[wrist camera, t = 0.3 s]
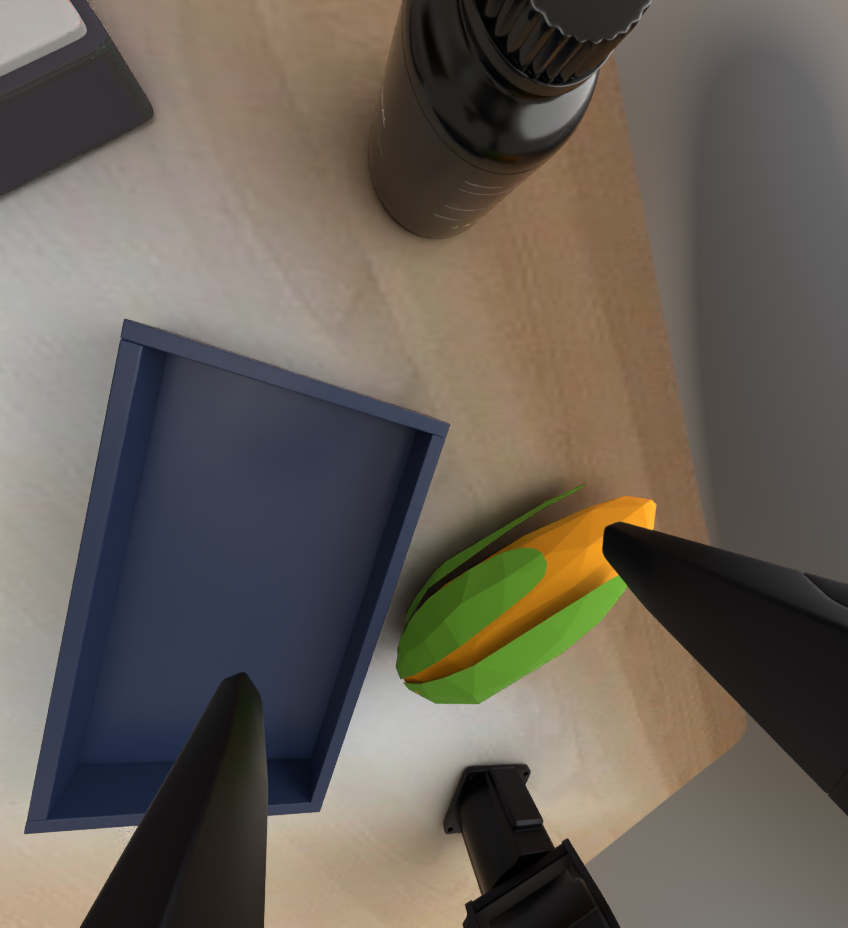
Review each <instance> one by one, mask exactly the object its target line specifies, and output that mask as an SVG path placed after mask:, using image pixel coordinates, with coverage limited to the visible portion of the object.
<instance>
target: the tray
mask: <svg viewBox="0 0 848 928" xmlns="http://www.w3.org/2000/svg"><path fill="white" fill-rule="evenodd" d="M121 338H122V339H121V340H120V344H119V349H118V354H117V359H116V364H115V369H114V375H113V380H112V385H111V390H110V395H109V400H108V405H107V411H106V416H105V421H104V426H103V431H102V436H101V441H100V447H99V452H98V457H97V462H96V467H95V472H94V477H93V483H92V488H91V493H90V498H89V503H88V508H87V513H86V519H85V524H84V529H83V534H82V539H81V544H80V549H79V555H78V560H77V565H76V570H75V575H74V580H73V585H72V591H71V596H70V601H69V606H68V611H67V616H66V622H65V627H64V632H63V637H62V642H61V647H60V652H59V658H58V663H57V668H56V673H55V678H54V683H53V688H52V694H51V699H50V704H49V709H48V714H47V719H46V724H45V730H44V735H43V740H42V745H41V750H40V755H39V760H38V766H37V771H36V776H35V781H34V786H33V791H32V796H31V802H30V807H29V812H28V817H27V821H26V826H25V831H24V834H32V833H45V832H59V831H72V830H85V829H99V828H112V827H125V826H138V825H139V824H140V822H141V820H142V818H143V817H144V815H145V813H146V812H147V810H148V808H149V806H150V805H151V803H152V801H153V799H154V798H155V796H156V794H157V792H158V791H159V789H160V787H161V785H162V784H163V782H164V780H165V778H166V777H167V775H168V773H169V771H170V770H171V768H172V766H173V765H174V763H175V761H176V759H177V758H178V756H179V754H180V752H181V751H182V749H183V747H184V745H185V744H186V742H187V740H188V738H189V737H190V735H191V733H192V731H193V730H194V728H195V726H196V724H197V723H198V721H199V719H200V718H201V716H202V714H203V712H204V711H205V709H206V707H207V705H208V704H209V702H210V700H211V698H212V697H213V695H214V693H215V691H216V690H217V688H218V686H219V685H220V683H221V682H222V681H223V680H224V679H225V678H227V677H230V676H232V675H235V674H237V673H240V672H245V673H246V674H247V675H248V676H249V678H250V679H251V681H252V682H253V684H254V685H255V687H256V689H257V690H258V692H259V693H260V696H261V699H262V706H263V720H264V734H265V748H266V762H267V777H268V815H267V816H271V815H284V814H298V813H311V812H320V810H321V807H322V804H323V801H324V798H325V795H326V792H327V789H328V786H329V783H330V780H331V777H332V774H333V771H334V768H335V765H336V762H337V759H338V756H339V753H340V750H341V747H342V744H343V741H344V738H345V735H346V732H347V729H348V726H349V723H350V720H351V718H352V715H353V712H354V709H355V706H356V703H357V700H358V697H359V694H360V691H361V688H362V685H363V682H364V679H365V676H366V673H367V670H368V667H369V664H370V661H371V658H372V655H373V652H374V649H375V646H376V643H377V640H378V637H379V634H380V631H381V628H382V625H383V623H384V620H385V617H386V614H387V611H388V608H389V605H390V602H391V599H392V596H393V593H394V590H395V587H396V584H397V581H398V578H399V575H400V572H401V569H402V566H403V563H404V560H405V557H406V554H407V551H408V548H409V545H410V542H411V539H412V536H413V533H414V530H415V527H416V525H417V522H418V519H419V516H420V513H421V510H422V507H423V504H424V501H425V498H426V495H427V492H428V489H429V486H430V483H431V480H432V477H433V474H434V471H435V468H436V465H437V462H438V459H439V456H440V453H441V450H442V447H443V444H444V441H445V438H446V435H447V432H448V429H449V426H450V424H449V423H446V422H444V421H441V420H438V419H436V418H433V417H430V416H427V415H424V414H421V413H418V412H415V411H412V410H409V409H406V408H403V407H400V406H397V405H394V404H390V403H387V402H384V401H381V400H378V399H375V398H372V397H369V396H366V395H363V394H360V393H357V392H354V391H350V390H347V389H344V388H341V387H338V386H335V385H332V384H329V383H326V382H323V381H320V380H317V379H314V378H310V377H307V376H304V375H301V374H298V373H295V372H292V371H289V370H286V369H283V368H280V367H277V366H274V365H270V364H267V363H264V362H261V361H258V360H255V359H252V358H249V357H246V356H243V355H240V354H237V353H234V352H231V351H227V350H224V349H221V348H218V347H215V346H212V345H209V344H206V343H203V342H200V341H197V340H194V339H191V338H187V337H184V336H181V335H178V334H175V333H172V332H169V331H166V330H163V329H160V328H156V327H153V326H149V325H146V324H142V323H139V322H135V321H132V320H128V319H124V322H123V327H122V332H121Z"/></svg>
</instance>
